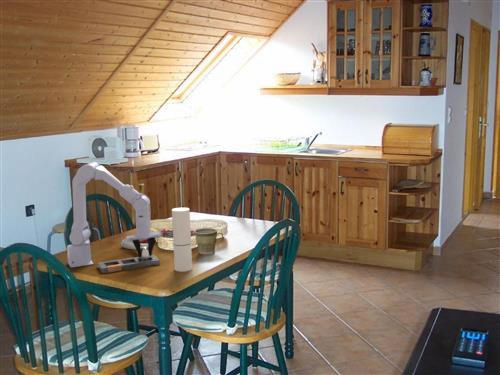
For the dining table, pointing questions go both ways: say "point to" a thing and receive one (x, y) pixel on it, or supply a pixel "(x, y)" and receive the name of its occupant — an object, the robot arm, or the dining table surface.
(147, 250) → the peg
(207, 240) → the ceramic cup
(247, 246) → the dining table surface
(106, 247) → the dining table surface
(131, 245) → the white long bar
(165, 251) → the dining table surface
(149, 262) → the grey slotted tray
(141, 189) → the liquor
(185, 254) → the cylindrical container
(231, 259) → the dining table surface
